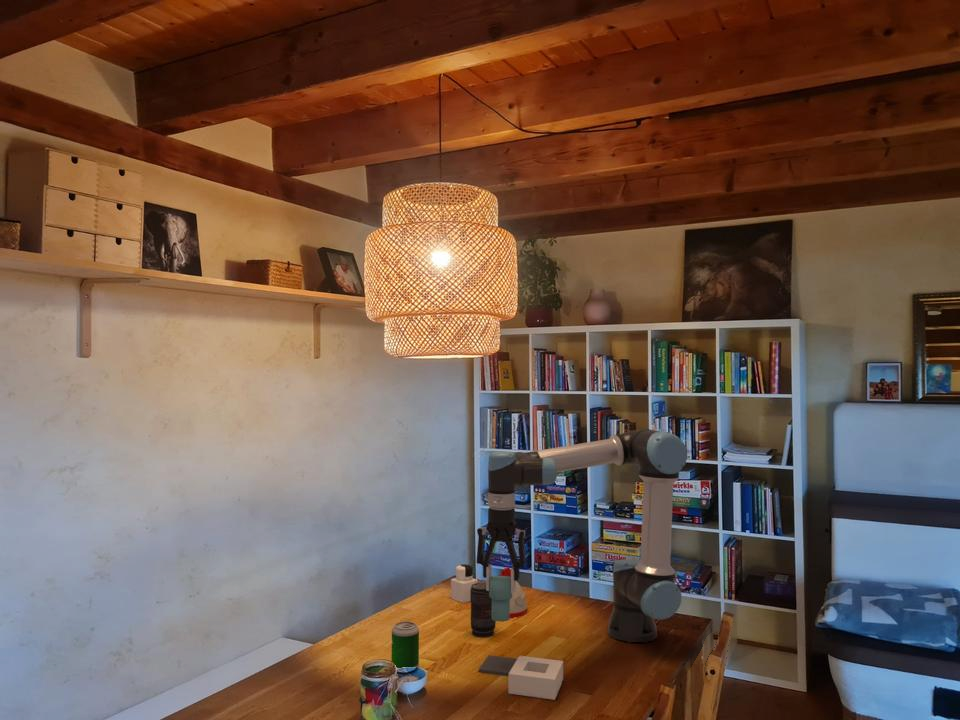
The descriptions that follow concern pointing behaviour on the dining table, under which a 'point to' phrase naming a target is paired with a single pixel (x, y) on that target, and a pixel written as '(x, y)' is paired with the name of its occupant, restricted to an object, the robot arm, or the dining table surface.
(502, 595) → the capped plug
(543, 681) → the bore block
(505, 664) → the slate mat
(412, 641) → the soda can
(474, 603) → the camera lens
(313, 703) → the dining table surface
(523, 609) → the kitchen timer
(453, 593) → the medicine bottle
